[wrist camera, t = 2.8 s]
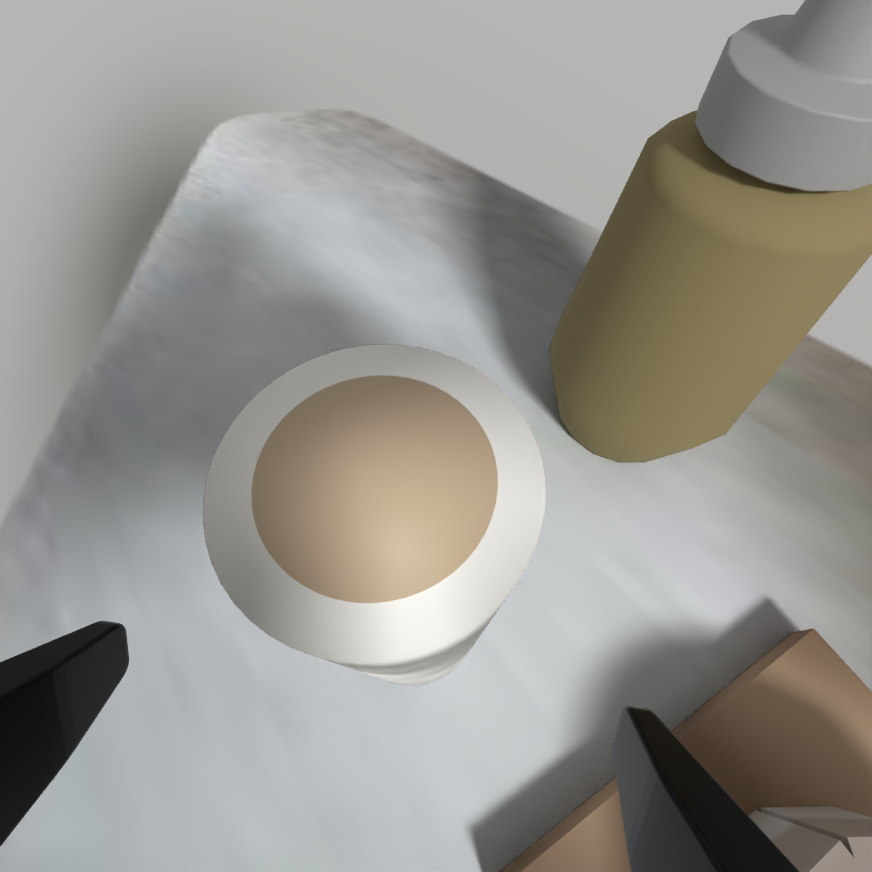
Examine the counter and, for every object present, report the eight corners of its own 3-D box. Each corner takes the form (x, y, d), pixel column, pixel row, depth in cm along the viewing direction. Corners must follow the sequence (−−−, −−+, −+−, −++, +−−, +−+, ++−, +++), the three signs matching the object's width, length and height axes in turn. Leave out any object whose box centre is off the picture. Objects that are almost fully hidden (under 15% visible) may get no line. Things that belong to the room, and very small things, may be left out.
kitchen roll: (386, 715, 17) (280, 754, 5) (327, 589, 19) (159, 424, 7) (503, 636, 18) (619, 532, 7) (435, 527, 20) (434, 302, 9)
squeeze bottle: (736, 469, 21) (1584, -175, 6) (565, 503, 21) (986, -131, 5) (660, 333, 25) (1035, -277, 9) (513, 358, 24) (653, -262, 9)
